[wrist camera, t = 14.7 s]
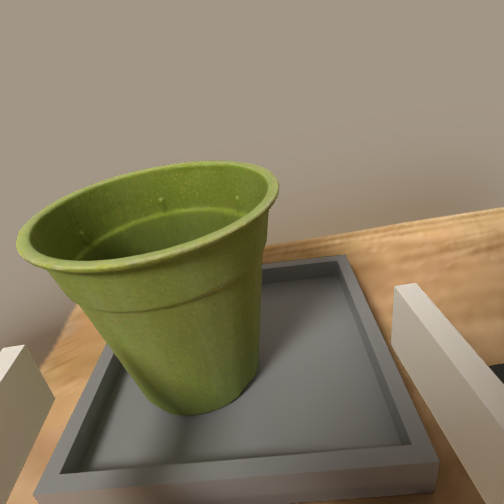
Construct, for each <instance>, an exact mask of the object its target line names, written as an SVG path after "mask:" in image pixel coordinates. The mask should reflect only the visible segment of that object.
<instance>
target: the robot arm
mask: <svg viewBox="0 0 504 504" xmlns="http://www.w3.org/2000/svg"><path fill="white" fill-rule="evenodd" d="M391 346H392V347H393V349H394V351H395V352H396V354H397V356H398V358H399V359H400V361H401V363H402V364H403V366H404V368H405V369H406V371H407V373H408V374H409V376H410V378H411V379H412V381H413V383H414V384H415V386H416V388H417V389H418V391H419V393H420V395H421V396H422V398H423V400H424V401H425V403H426V405H427V406H428V408H429V410H430V411H431V413H432V415H433V416H434V418H435V420H436V421H437V423H438V425H439V426H440V428H441V430H442V431H443V433H444V435H445V437H446V438H447V440H448V442H449V443H450V445H451V447H452V448H453V450H454V452H455V453H456V455H457V457H458V458H459V460H460V462H461V463H462V465H463V467H464V468H465V470H466V472H467V474H468V475H469V477H470V479H471V480H472V482H473V484H474V485H475V487H476V489H477V490H478V492H479V494H480V495H481V497H482V499H483V500H484V502H485V504H504V364H498V365H492V366H487V364H486V363H485V362H484V361H483V360H482V359H481V358H480V356H479V355H478V354H477V353H476V352H475V351H474V349H473V348H472V347H471V346H470V345H469V344H468V342H467V341H466V340H465V339H464V338H463V337H462V336H461V334H460V333H459V332H458V331H457V330H456V329H455V327H454V326H453V325H452V324H451V323H450V322H449V321H448V319H447V318H446V317H445V316H444V315H443V314H442V312H441V311H440V310H439V309H438V308H437V307H436V305H435V304H434V303H433V302H432V301H431V300H430V299H429V297H428V296H427V295H426V294H425V293H424V292H423V290H422V289H421V288H420V287H419V286H418V285H417V284H416V283H412V284H405V285H399V286H395V287H394V303H393V320H392V336H391ZM54 400H55V397H54V395H53V394H52V392H51V390H50V388H49V386H48V385H47V383H46V381H45V379H44V378H43V376H42V374H41V372H40V370H39V369H38V367H37V366H36V363H35V362H34V360H33V358H32V356H31V354H30V353H29V351H28V349H27V347H26V346H25V345H20V346H14V347H7V348H3V349H2V351H1V352H0V504H6V502H7V500H8V498H9V496H10V493H11V491H12V489H13V487H14V485H15V483H16V481H17V479H18V476H19V474H20V472H21V470H22V468H23V466H24V464H25V462H26V459H27V457H28V455H29V453H30V451H31V449H32V447H33V445H34V443H35V440H36V438H37V436H38V434H39V432H40V430H41V428H42V426H43V423H44V421H45V419H46V417H47V415H48V413H49V411H50V409H51V406H52V404H53V402H54Z"/></svg>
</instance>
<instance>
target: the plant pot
mask: <svg viewBox="0 0 504 504" xmlns="http://www.w3.org/2000/svg"><path fill="white" fill-rule="evenodd" d="M278 192H279V182H278V180H277V178H276V177H275V176H274V174H273V173H272V172H270V171H269V170H267V169H266V168H263V167H260V166H257V165H253V164H250V163H243V162H236V161H221V160H220V161H194V162H184V163H176V164H169V165H164V166H157V167H153V168H146V169H142V170H139V171H134V172H131V173H127V174H122V175H119V176H116V177H112V178H109V179H106V180H103V181H101V182H98V183H95V184H92V185H90V186H87V187H85V188H82V189H80V190H77V191H75V192H73V193H71V194H69V195H67V196H65V197H63V198H61V199H59V200H57V201H55V202H54V203H52V204H50V205H48V206H47V207H45V208H44V209H43V210H42V211H41V212H39V213H37V214H35V215H34V216H33V217H32V218H31V219H30V220H29V221H28V222H27V223H26V224H25V225H24V226H23V227H22V228H21V230H20V231H19V235H18V238H17V242H16V247H17V250H18V252H19V254H20V255H21V256H22V257H23V258H24V259H25V260H26V261H28V262H29V263H31V264H32V265H34V266H37V267H40V268H43V269H46V270H47V271H48V272H49V273H50V275H51V276H52V277H53V278H54V280H55V281H56V282H57V284H58V285H59V286H60V287H61V289H62V290H63V291H64V293H65V294H66V295H67V296H68V297H69V298H70V299H71V300H72V301H74V302H75V303H77V304H79V306H80V307H81V308H82V309H83V311H84V312H85V314H86V315H87V316H88V318H89V319H90V320H91V322H92V323H93V325H94V326H95V327H96V329H97V330H98V332H99V333H100V334H101V336H102V337H103V338H104V340H105V341H106V343H107V344H108V345H109V347H110V348H111V350H112V351H113V352H114V354H115V355H116V356H117V358H118V359H119V361H120V362H121V363H122V365H123V366H124V368H125V369H126V370H127V372H128V373H129V374H130V376H131V377H132V379H133V380H134V381H135V383H136V384H137V385H138V387H139V388H140V390H141V391H142V392H143V394H144V395H145V396H146V398H147V399H148V400H149V401H150V402H151V403H152V404H154V405H155V406H157V407H159V408H161V409H162V410H164V411H166V412H168V413H170V414H174V415H199V414H204V413H208V412H211V411H214V410H217V409H219V408H221V407H223V406H225V405H227V404H229V403H230V402H232V401H233V400H234V399H236V398H237V397H238V396H239V395H240V393H241V392H242V390H243V389H244V388H245V386H246V385H247V384H248V383H249V382H250V381H251V379H252V378H253V377H254V376H255V374H256V371H257V368H258V363H259V340H260V313H261V283H262V255H263V249H264V247H265V244H266V239H267V226H268V212H269V209H270V208H271V206H272V205H273V204H274V202H275V200H276V198H277V196H278Z"/></svg>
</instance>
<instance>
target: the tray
mask: <svg viewBox="0 0 504 504" xmlns="http://www.w3.org/2000/svg"><path fill="white" fill-rule="evenodd" d="M439 465H440V460H439V458H438V456H437V454H436V452H435V450H434V447H433V445H432V443H431V441H430V439H429V436H428V434H427V432H426V430H425V428H424V425H423V423H422V421H421V419H420V417H419V415H418V412H417V410H416V408H415V406H414V404H413V401H412V399H411V397H410V395H409V393H408V391H407V388H406V386H405V384H404V382H403V380H402V377H401V375H400V373H399V371H398V369H397V366H396V364H395V362H394V360H393V358H392V356H391V353H390V351H389V349H388V347H387V345H386V342H385V340H384V338H383V336H382V334H381V331H380V329H379V327H378V325H377V323H376V321H375V318H374V316H373V314H372V312H371V310H370V307H369V305H368V303H367V301H366V299H365V297H364V294H363V292H362V290H361V288H360V286H359V283H358V281H357V279H356V277H355V275H354V272H353V270H352V268H351V266H350V264H349V262H348V259H347V257H346V255H345V254H344V255H336V256H327V257H318V258H310V259H301V260H293V261H284V262H275V263H267V264H262V283H261V313H260V340H259V363H258V368H257V371H256V374H255V376H254V377H253V378H252V379H251V381H250V382H249V383H248V384H247V385H246V386H245V388H244V389H243V390H242V392H241V393H240V395H239V396H238V397H237V398H236V399H234V400H233V401H232V402H230V403H229V404H227V405H225V406H223V407H221V408H219V409H217V410H214V411H211V412H208V413H204V414H199V415H174V414H170V413H168V412H166V411H164V410H162V409H161V408H159V407H157V406H155V405H154V404H152V403H151V402H150V401H149V400H148V399H147V398H146V396H145V395H144V394H143V392H142V391H141V390H140V388H139V387H138V385H137V384H136V383H135V381H134V380H133V379H132V377H131V376H130V374H129V373H128V372H127V370H126V369H125V368H124V366H123V365H122V363H121V362H120V361H119V359H118V358H117V356H116V355H115V354H114V352H113V351H112V350H111V348H110V347H109V345H108V344H106V346H105V348H104V350H103V352H102V354H101V356H100V358H99V360H98V362H97V364H96V366H95V368H94V370H93V372H92V374H91V377H90V379H89V381H88V383H87V385H86V387H85V389H84V391H83V393H82V395H81V397H80V399H79V401H78V403H77V405H76V407H75V409H74V411H73V413H72V415H71V417H70V419H69V422H68V424H67V426H66V428H65V430H64V432H63V434H62V436H61V438H60V440H59V442H58V444H57V446H56V448H55V450H54V452H53V454H52V456H51V458H50V460H49V462H48V464H47V467H46V469H45V471H44V473H43V475H42V477H41V479H40V481H39V483H38V485H37V487H36V489H35V491H34V493H33V496H34V497H35V498H36V500H37V501H38V503H39V504H292V503H305V502H318V501H331V500H345V499H358V498H371V497H384V496H397V495H410V494H423V493H435V487H436V481H437V476H438V470H439Z"/></svg>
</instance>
